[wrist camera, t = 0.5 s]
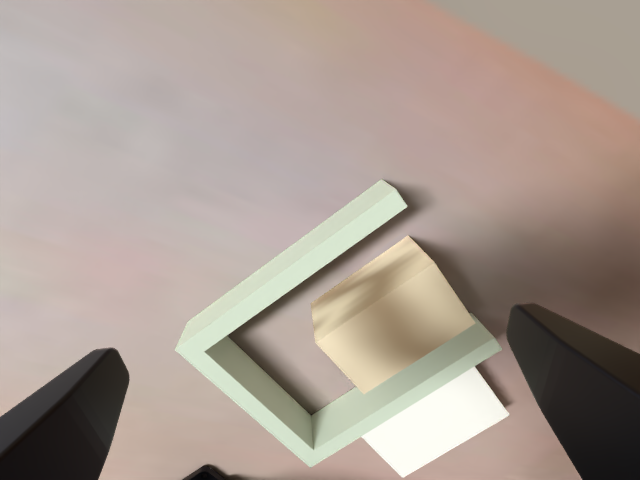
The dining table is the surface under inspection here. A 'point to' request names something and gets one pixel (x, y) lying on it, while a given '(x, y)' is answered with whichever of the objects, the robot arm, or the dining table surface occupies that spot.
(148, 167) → the dining table surface
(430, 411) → the stand
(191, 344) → the shelf bay
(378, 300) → the block
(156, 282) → the dining table surface
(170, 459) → the dining table surface
